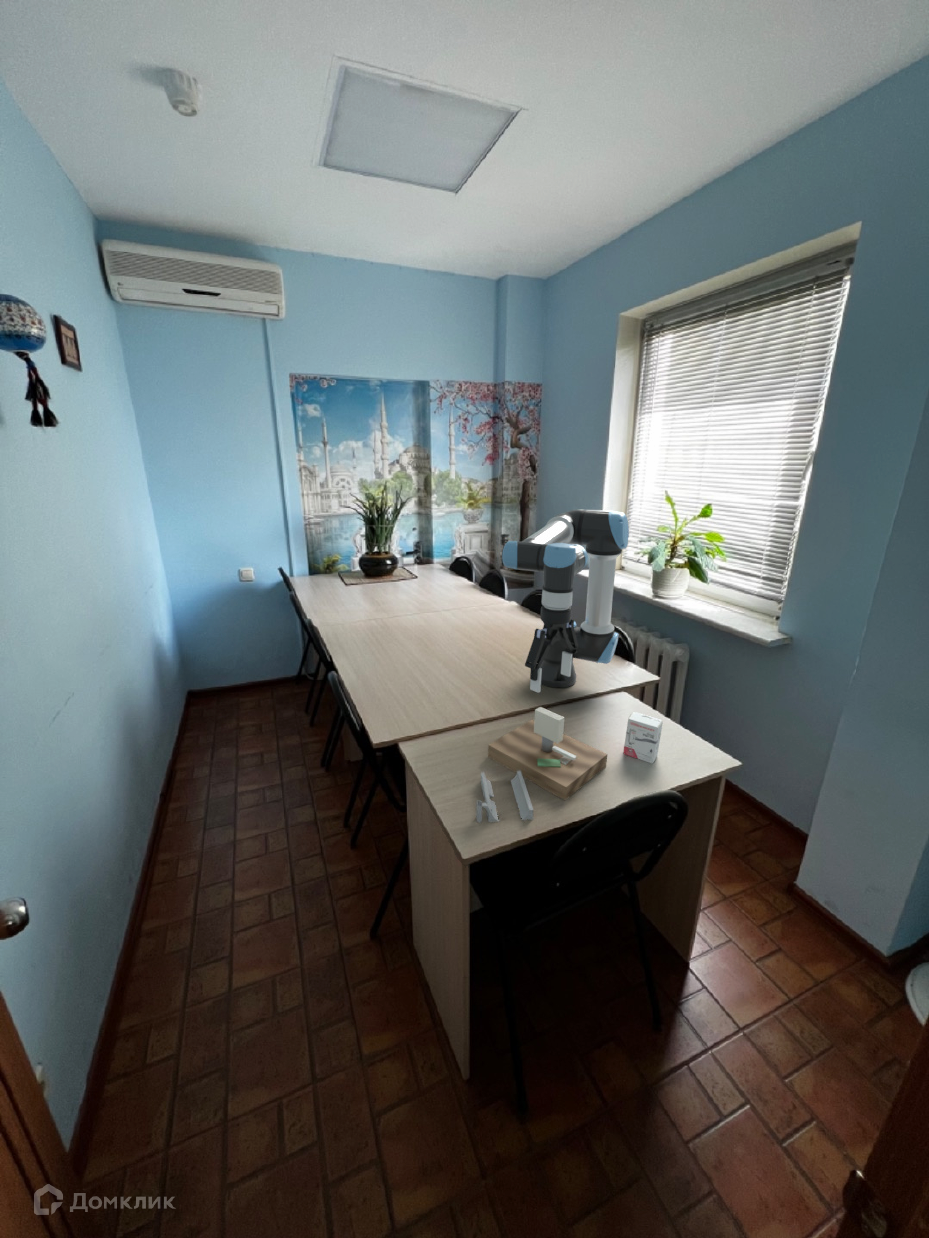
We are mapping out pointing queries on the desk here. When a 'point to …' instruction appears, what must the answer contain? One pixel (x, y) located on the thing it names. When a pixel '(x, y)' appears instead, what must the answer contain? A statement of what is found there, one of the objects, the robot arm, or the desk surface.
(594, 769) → the brown wavy board
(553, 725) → the white piece
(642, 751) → the ink box
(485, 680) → the desk surface
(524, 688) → the desk surface
